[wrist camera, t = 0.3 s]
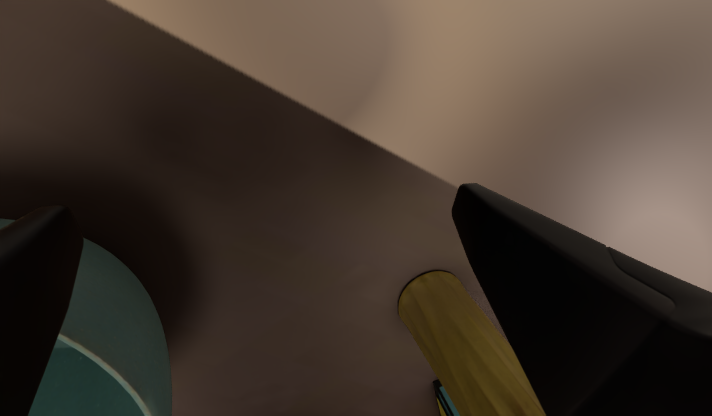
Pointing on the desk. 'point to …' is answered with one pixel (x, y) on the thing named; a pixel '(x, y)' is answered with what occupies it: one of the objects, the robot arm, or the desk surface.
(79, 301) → the teal bowl
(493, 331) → the vase
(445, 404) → the carton
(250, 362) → the desk surface
